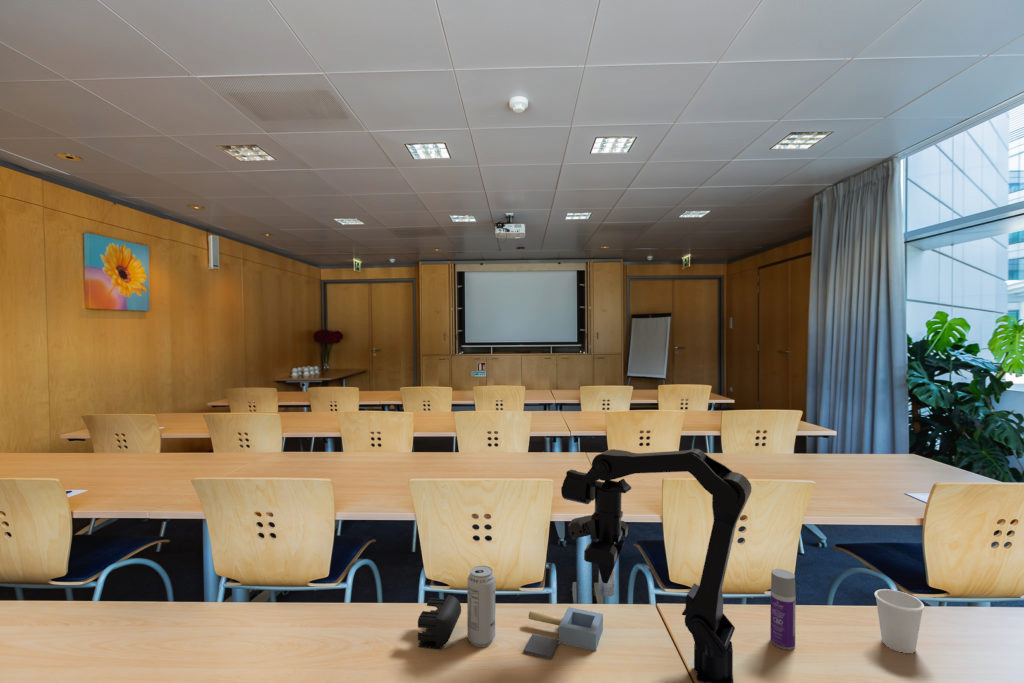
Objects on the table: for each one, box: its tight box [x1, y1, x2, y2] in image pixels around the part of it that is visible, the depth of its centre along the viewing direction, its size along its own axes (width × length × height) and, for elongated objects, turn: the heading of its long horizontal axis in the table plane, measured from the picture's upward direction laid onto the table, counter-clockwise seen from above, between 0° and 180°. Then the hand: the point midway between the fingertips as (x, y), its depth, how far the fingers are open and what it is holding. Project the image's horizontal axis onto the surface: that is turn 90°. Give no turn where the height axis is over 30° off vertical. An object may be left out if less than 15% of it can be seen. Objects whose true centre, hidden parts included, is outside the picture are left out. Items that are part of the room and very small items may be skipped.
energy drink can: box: [466, 565, 496, 648], centre depth 107 cm, size 6×6×15 cm
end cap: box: [417, 594, 462, 650], centre depth 108 cm, size 10×7×7 cm
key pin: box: [598, 565, 616, 598], centre depth 109 cm, size 3×3×9 cm
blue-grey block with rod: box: [528, 606, 604, 652], centre depth 110 cm, size 16×8×4 cm, turn 69°
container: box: [770, 568, 797, 651], centre depth 106 cm, size 5×5×15 cm
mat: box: [522, 633, 560, 660], centre depth 104 cm, size 6×6×1 cm
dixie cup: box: [874, 588, 925, 654], centre depth 105 cm, size 8×8×10 cm
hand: (606, 578), depth 109 cm, fingers closed on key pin, 3 cm apart
